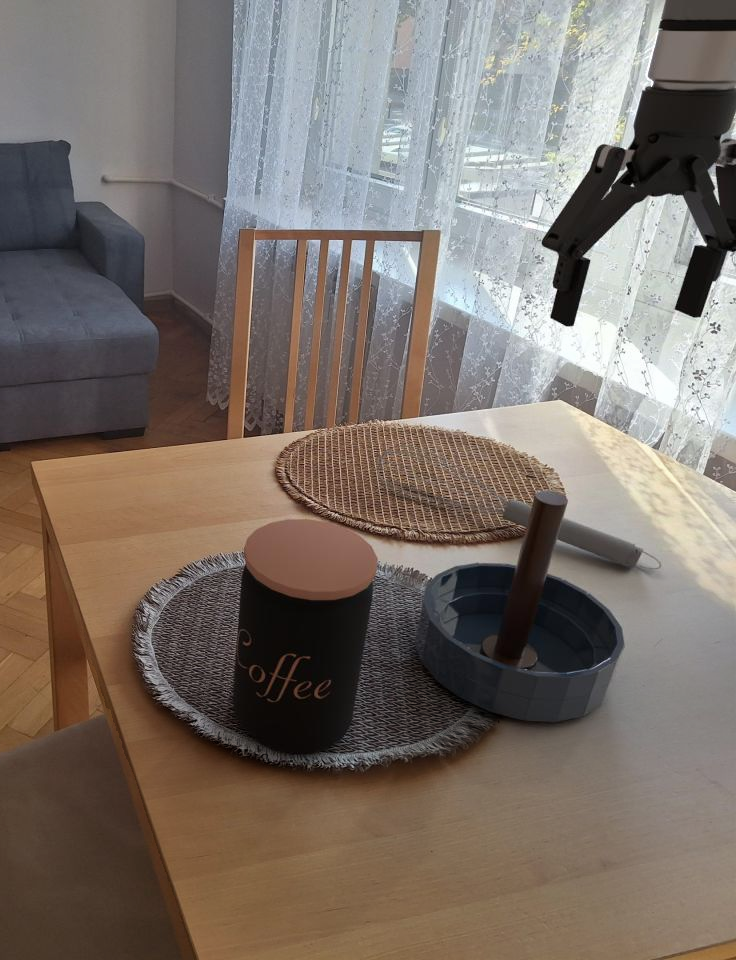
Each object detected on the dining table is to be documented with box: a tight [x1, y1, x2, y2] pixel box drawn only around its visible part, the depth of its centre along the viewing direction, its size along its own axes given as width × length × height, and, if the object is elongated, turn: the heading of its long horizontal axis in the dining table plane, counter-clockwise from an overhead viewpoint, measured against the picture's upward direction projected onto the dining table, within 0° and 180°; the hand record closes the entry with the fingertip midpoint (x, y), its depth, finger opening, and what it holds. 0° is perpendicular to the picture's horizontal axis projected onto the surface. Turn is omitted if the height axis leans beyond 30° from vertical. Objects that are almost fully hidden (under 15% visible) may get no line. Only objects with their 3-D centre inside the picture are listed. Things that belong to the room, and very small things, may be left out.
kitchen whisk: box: [375, 445, 662, 570], centre depth 104 cm, size 6×34×6 cm, turn 49°
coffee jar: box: [232, 518, 379, 756], centre depth 74 cm, size 11×11×18 cm
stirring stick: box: [480, 490, 569, 671], centre depth 79 cm, size 5×5×18 cm
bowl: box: [414, 562, 626, 723], centre depth 83 cm, size 17×17×6 cm
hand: (624, 318), depth 86 cm, fingers open, 13 cm apart
